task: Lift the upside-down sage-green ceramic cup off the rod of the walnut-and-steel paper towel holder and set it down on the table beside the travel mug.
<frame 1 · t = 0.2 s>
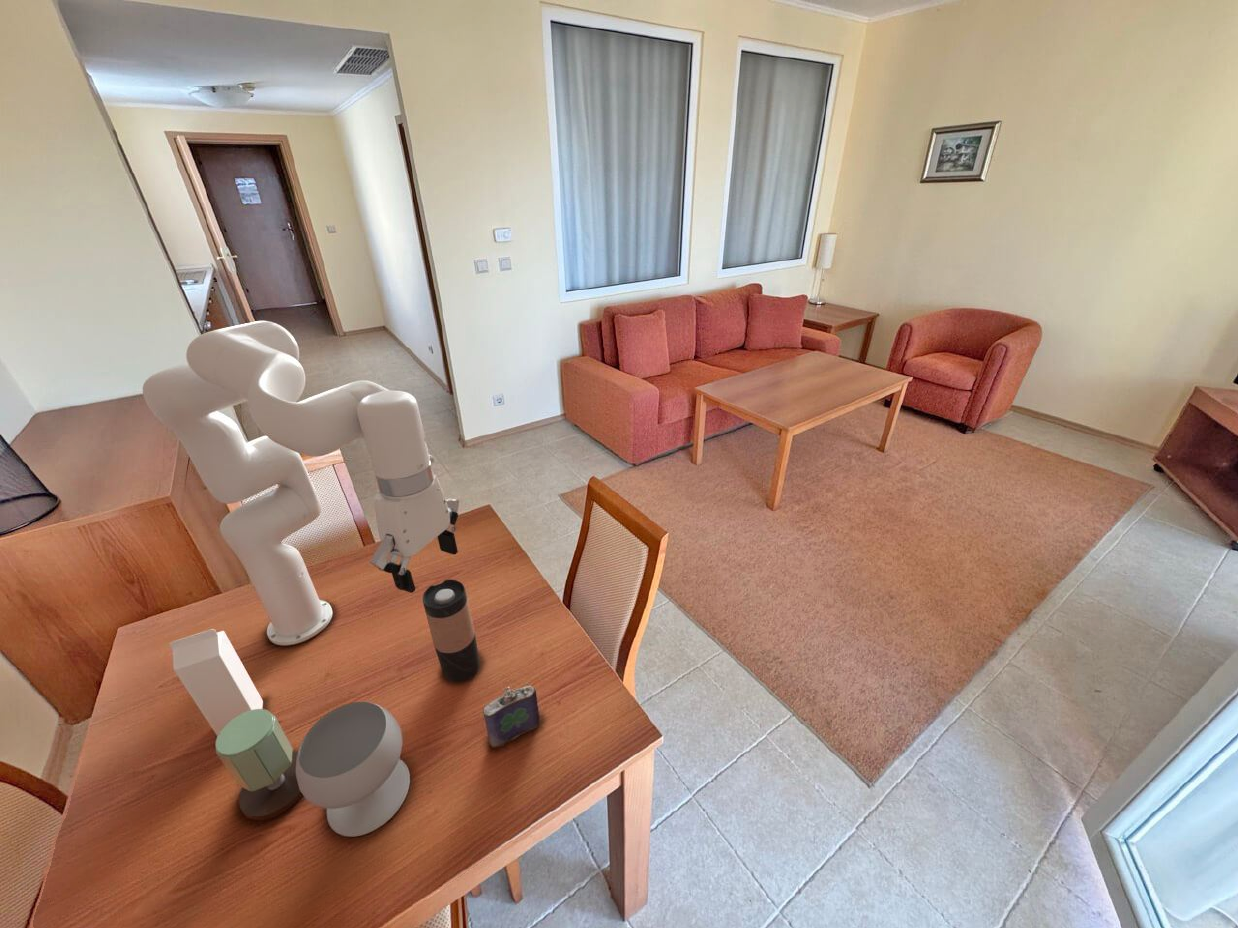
hand: (428, 569, 79), 31 cm above the table, tool pointing down, fingers open, 9 cm apart
green cup: (266, 765, 77), point 6 cm above the table, touching towel holder
travel mug: (461, 668, 100), on the table
milk: (243, 721, 90), on the table
towel holder: (278, 785, 80), on the table
flask: (515, 731, 88), on the table
chalice: (370, 794, 79), on the table
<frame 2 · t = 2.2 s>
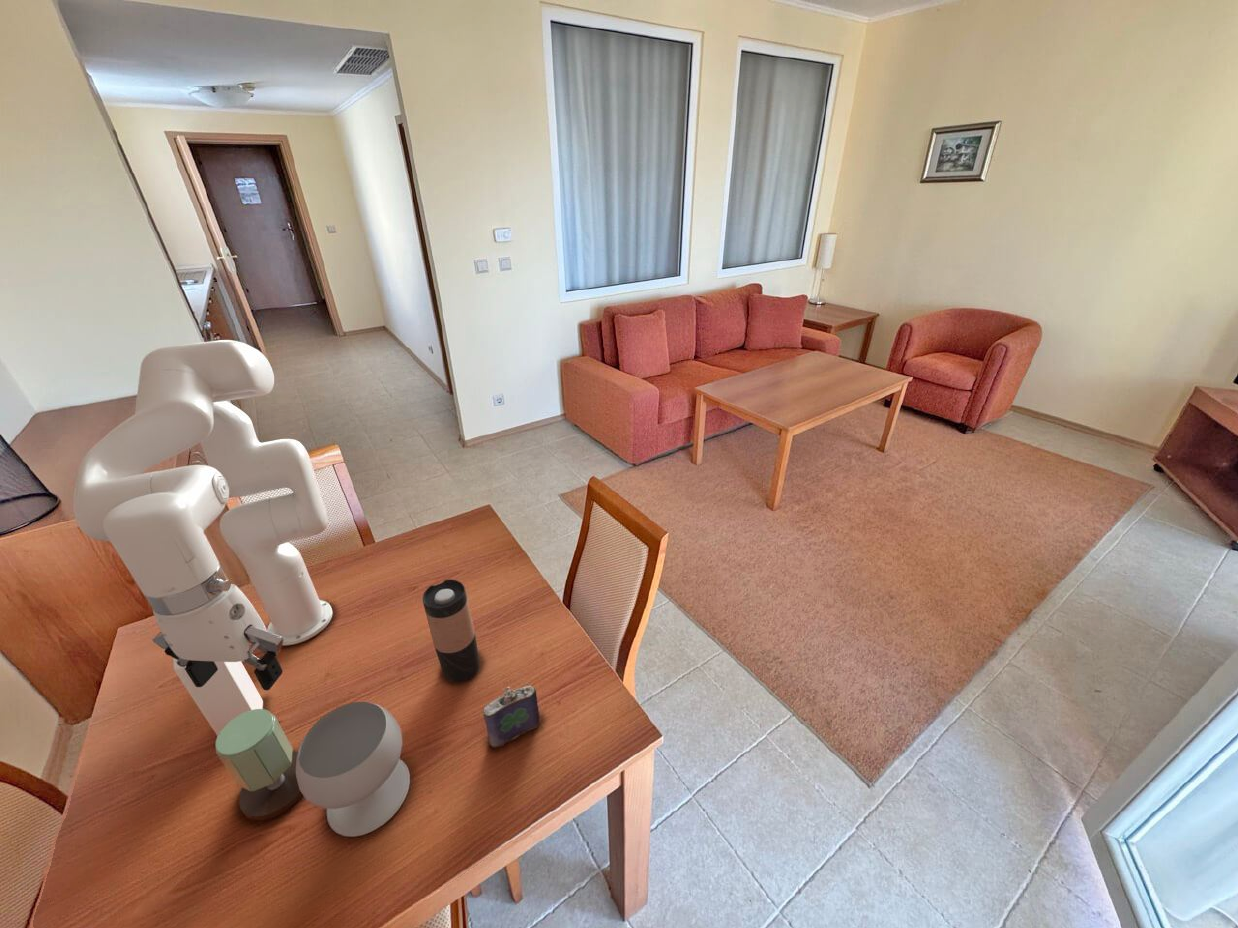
hand: (240, 679, 70), 24 cm above the table, tool pointing down, fingers open, 9 cm apart
nothing on the table moved.
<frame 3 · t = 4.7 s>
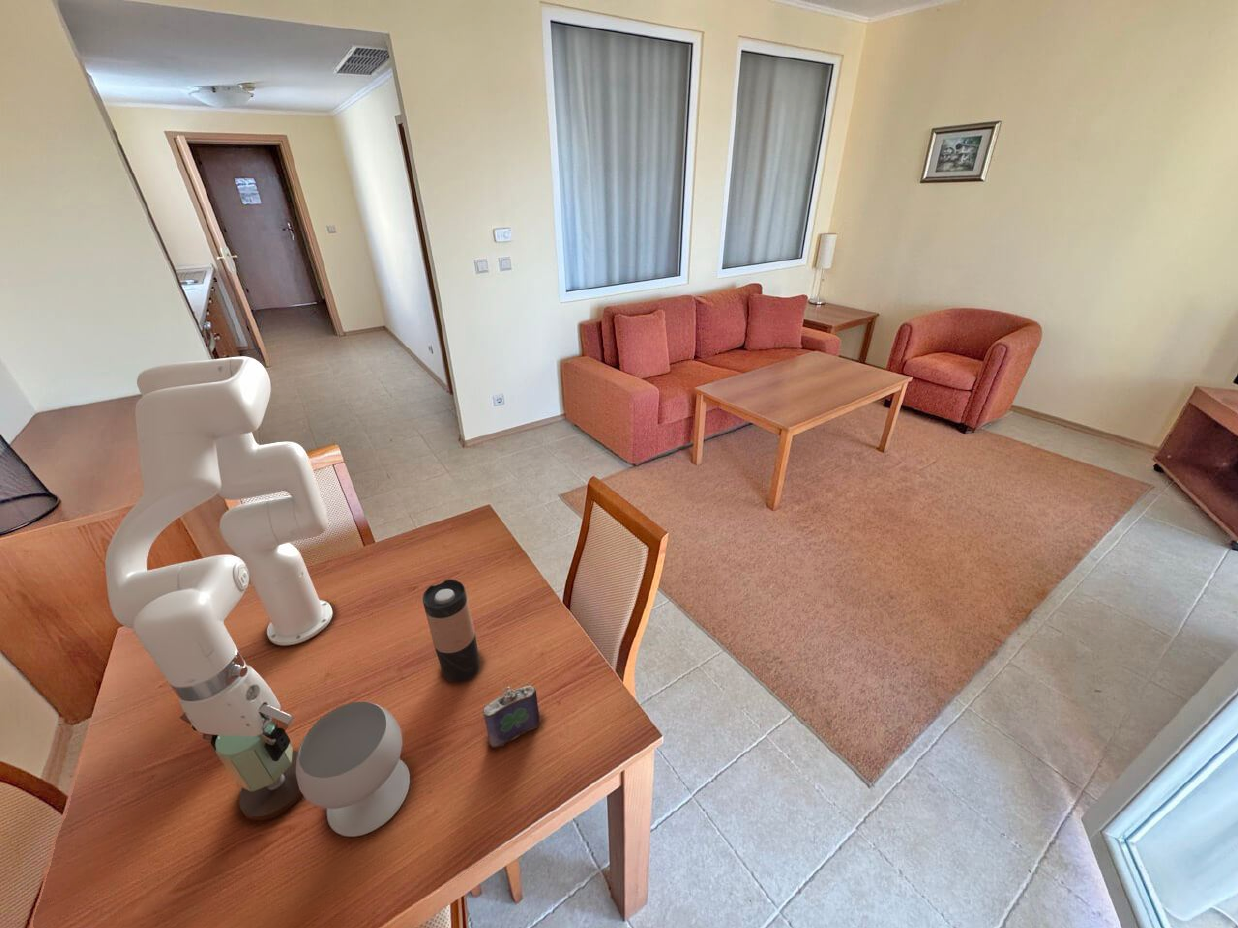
hand: (256, 749, 75), 10 cm above the table, tool pointing down, fingers closed on green cup, 7 cm apart
green cup: (266, 765, 77), point 6 cm above the table, touching gripper, towel holder
everything else where it was.
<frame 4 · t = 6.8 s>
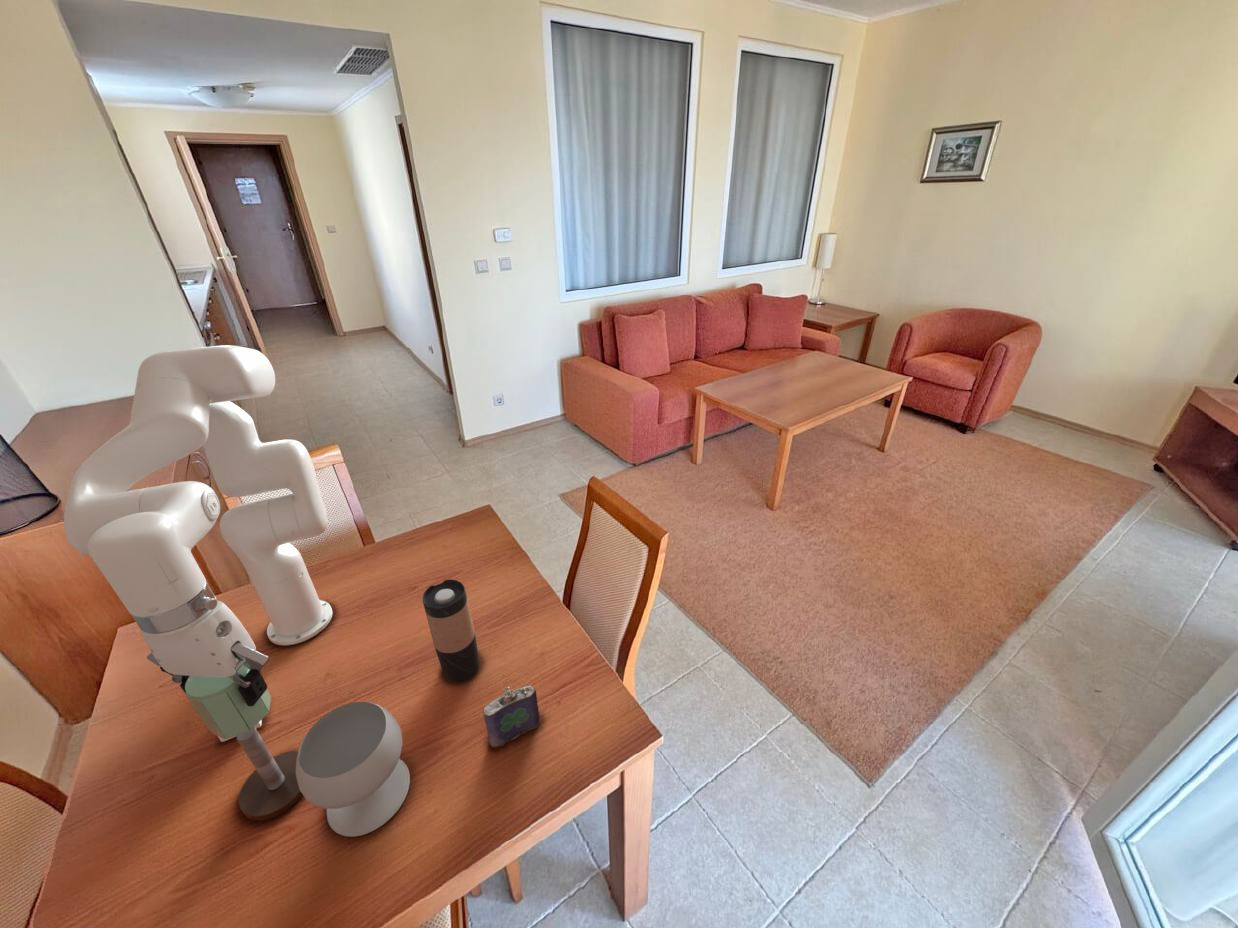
hand: (230, 694, 70), 22 cm above the table, tool pointing down, fingers closed on green cup, 7 cm apart
green cup: (242, 713, 72), point 17 cm above the table, touching gripper
everything else where it was.
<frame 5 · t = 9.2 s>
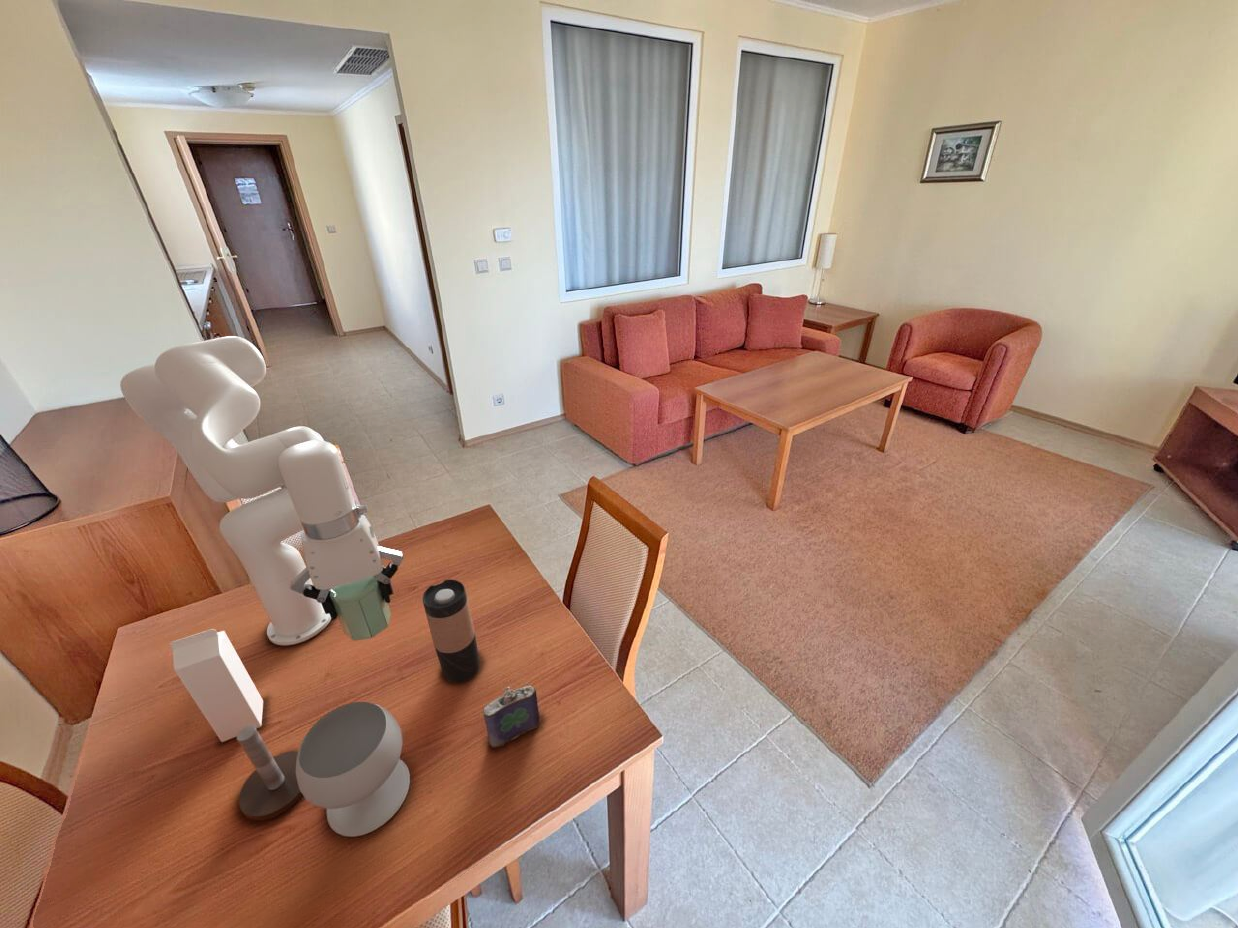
hand: (361, 605, 84), 23 cm above the table, tool pointing down, fingers closed on green cup, 7 cm apart
green cup: (368, 623, 86), point 19 cm above the table, touching gripper
everything else where it was.
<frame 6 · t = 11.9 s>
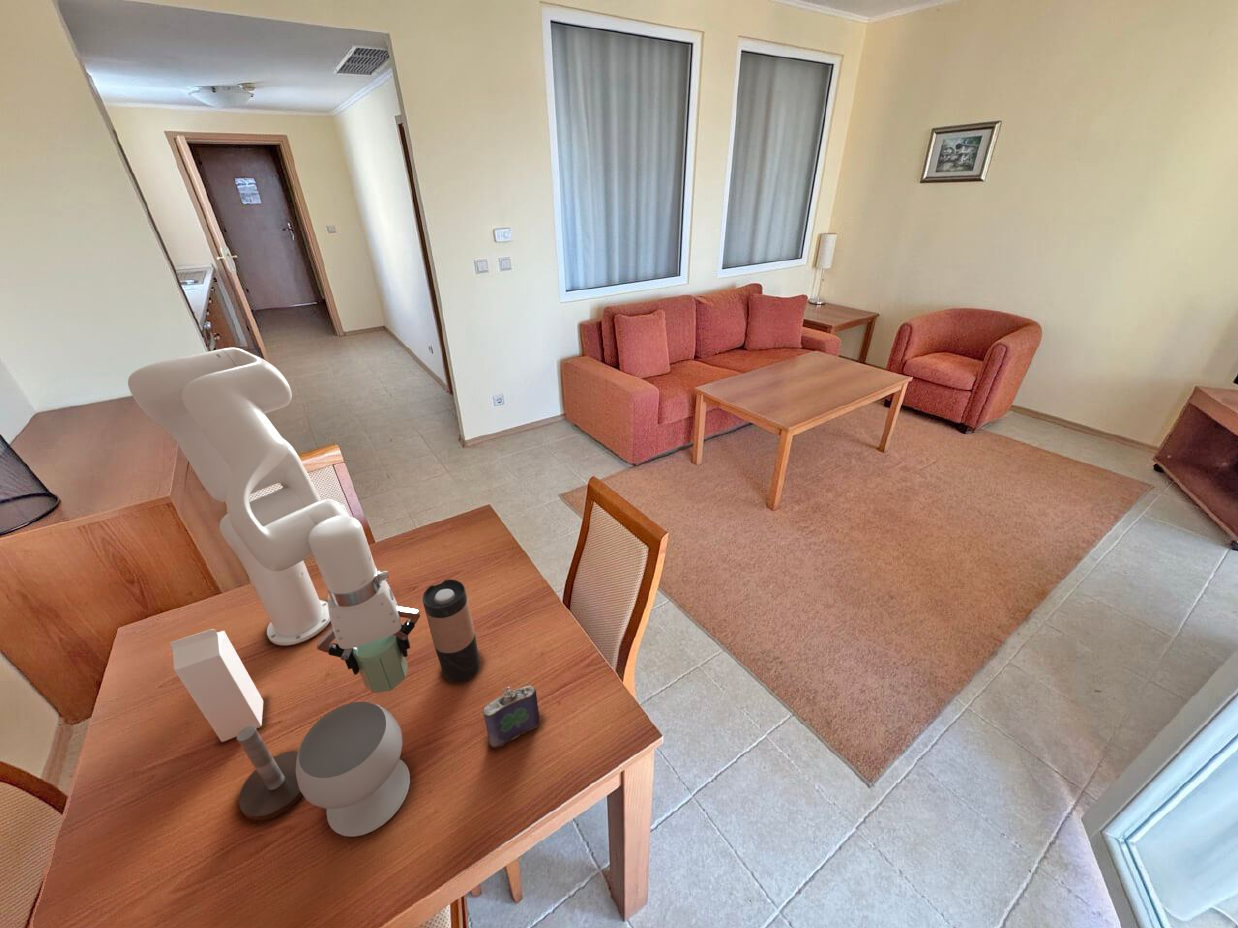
hand: (381, 659, 90), 10 cm above the table, tool pointing down, fingers closed on green cup, 7 cm apart
green cup: (387, 675, 92), point 5 cm above the table, touching gripper
everything else where it was.
when the fingers open (4 cm above the table, at t = 13.8 s): green cup stays where it is, on the table.
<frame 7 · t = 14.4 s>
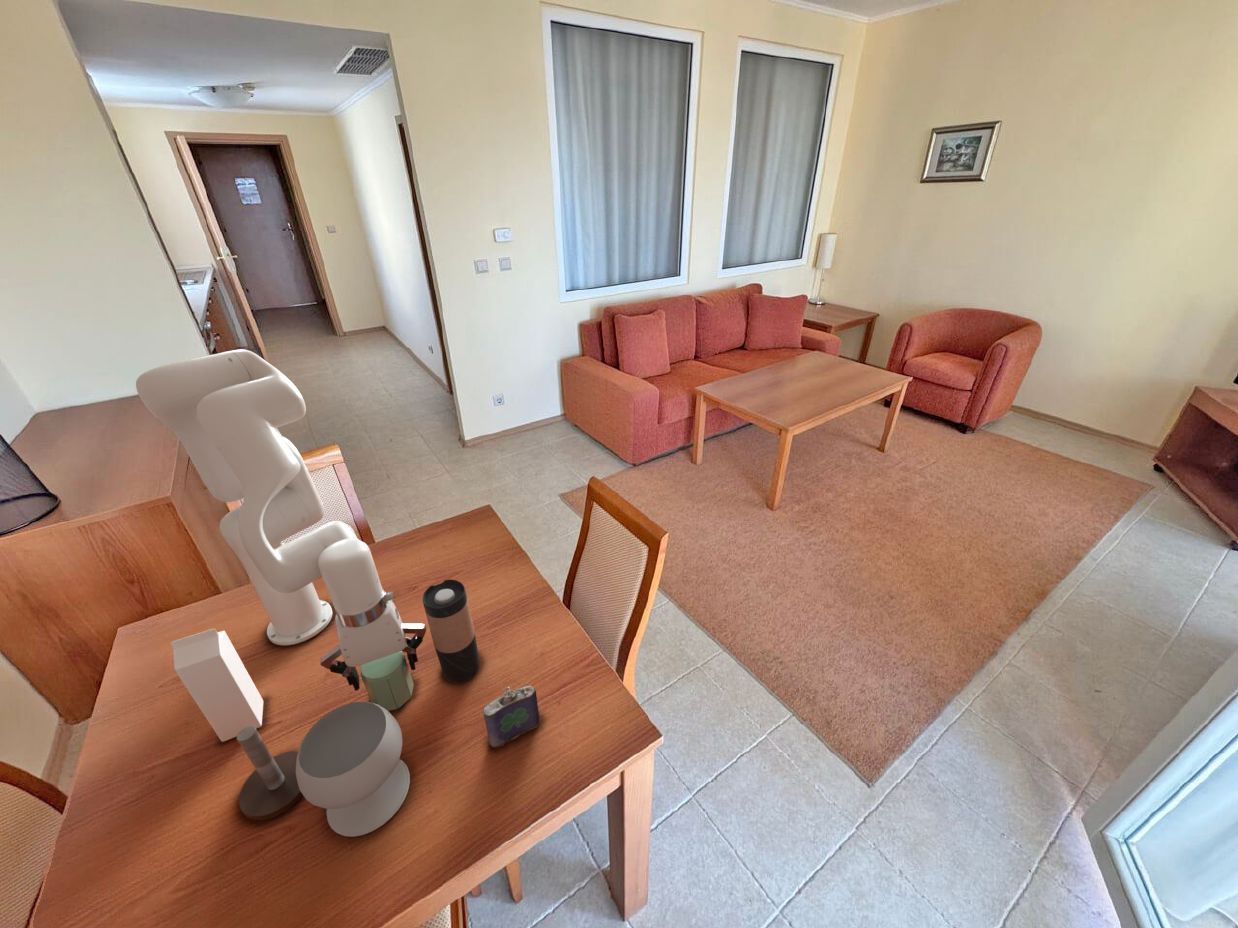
hand: (385, 674, 92), 5 cm above the table, tool pointing down, fingers open, 9 cm apart
green cup: (393, 693, 95), on the table
everything else where it was.
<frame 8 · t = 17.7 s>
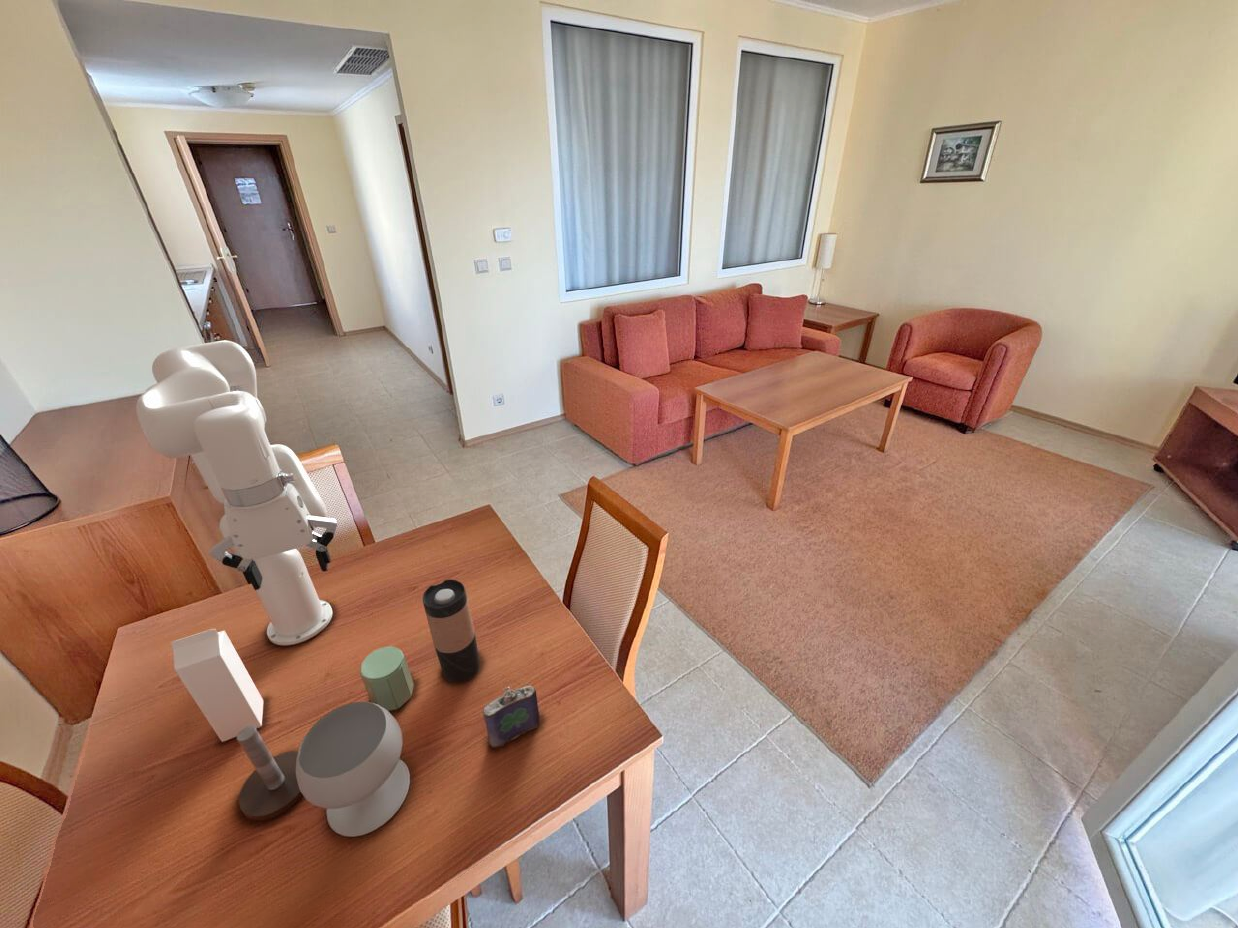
hand: (292, 575, 83), 28 cm above the table, tool pointing down, fingers open, 9 cm apart
nothing on the table moved.
at the end: green cup 12.9 cm from the travel mug (horizontally); green cup on the table; green cup tilted 0° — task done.
